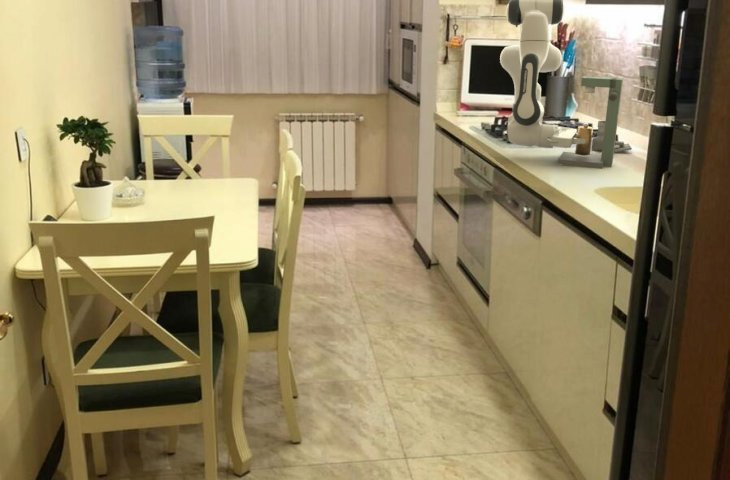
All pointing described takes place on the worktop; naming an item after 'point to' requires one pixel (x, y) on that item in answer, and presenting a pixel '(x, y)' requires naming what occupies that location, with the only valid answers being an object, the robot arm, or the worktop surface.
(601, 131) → the camera
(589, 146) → the tan upright block
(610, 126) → the press
